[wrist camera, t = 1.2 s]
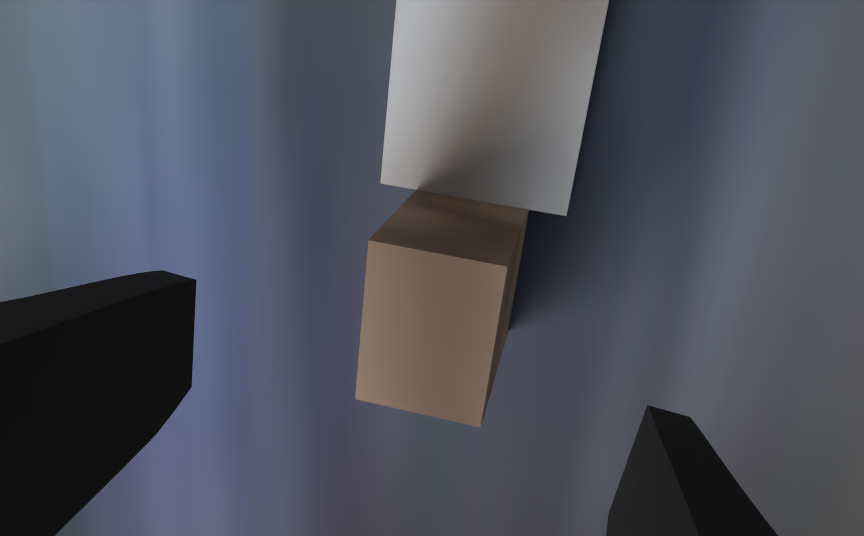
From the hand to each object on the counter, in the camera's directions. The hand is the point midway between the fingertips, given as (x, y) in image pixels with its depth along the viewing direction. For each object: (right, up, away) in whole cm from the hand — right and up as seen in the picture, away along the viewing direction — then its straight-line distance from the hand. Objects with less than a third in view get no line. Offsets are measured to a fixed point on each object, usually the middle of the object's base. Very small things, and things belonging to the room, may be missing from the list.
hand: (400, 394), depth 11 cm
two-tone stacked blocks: (+2, +6, +8) cm, 10 cm away
